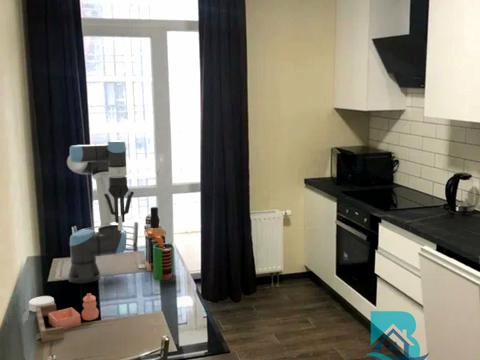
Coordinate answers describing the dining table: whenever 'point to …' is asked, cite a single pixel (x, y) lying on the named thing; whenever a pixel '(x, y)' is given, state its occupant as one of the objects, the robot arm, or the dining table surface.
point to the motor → (162, 260)
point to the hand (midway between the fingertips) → (120, 229)
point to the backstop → (45, 333)
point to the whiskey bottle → (152, 237)
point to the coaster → (40, 302)
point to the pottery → (74, 314)
